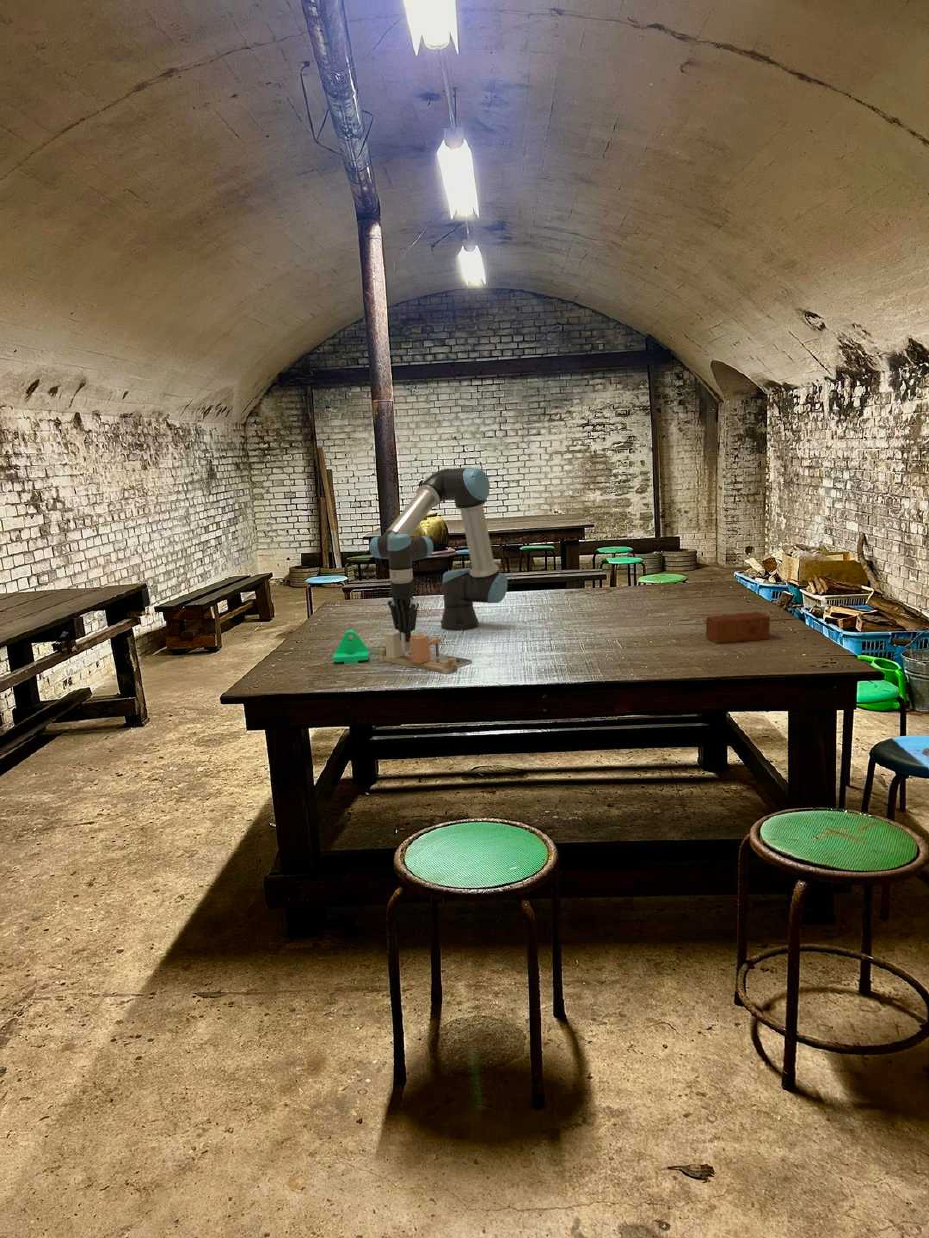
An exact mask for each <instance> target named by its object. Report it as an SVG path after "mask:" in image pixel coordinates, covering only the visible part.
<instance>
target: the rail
mask: <svg viewBox="0 0 929 1238" xmlns="http://www.w3.org/2000/svg"><path fill="white" fill-rule="evenodd" d="M378 653H379V654H378V655H379V661H380V662H387V663H393V664H397V665H402V666H407V667H411V668H417V669H421V670H426V671H431V672H436V673H440V674H441V673H442V674H443V675H449V674H450V673H454V672H456V671H458V668H457V662H456V658H451V659H448V660H445V661H442V664H440V663H435V662H430V661H426V662H423V663H420V664H419V663H414V662H411V658H409V657H404V656H402V657H398V658H395V659H394V658H389V657H387V656H386V647H382V648H379V649H378Z"/></svg>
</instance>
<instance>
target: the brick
mask: <svg viewBox="0 0 929 1238" xmlns="http://www.w3.org/2000/svg"><path fill="white" fill-rule="evenodd" d="M705 623H706V626H705V627H706V628H705V629H706V630H705V634H706V635H705V636H706V640H707V641H709V642H712V643H714V644H716V645H723V644H730V643H743V642H753V641H762V640H764V641H766V640H769V639H770V626H771V625H770V624H771V618H770V616H768V615H766V614H765V613H760V612H757V611H753V612H746V613H741V612H740V613H735V614H733V613H732V614H723V615H715V616H714V615H713V616H708V617H707V616H706V621H705Z"/></svg>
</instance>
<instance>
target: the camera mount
mask: <svg viewBox="0 0 929 1238" xmlns="http://www.w3.org/2000/svg"><path fill="white" fill-rule="evenodd" d="M349 636H352V638H349ZM341 638H342V639H341V640H340V642H339V644H338V646H337V647H336V650H335V651H334V654H333V657H332V658H333V659H332V660H333V662H335V663H342V662H343V663H344V665H349V664H359V661H367V660H369V659H370V649H369V648H368V647H367V645H366V644H365V643H364V641H363V640H362V639H361V637H360V636H359V635H358V633H357V632H356V631H355V630H353V629H348V630H346V631H345V632H344V635H343V636H342V637H341Z"/></svg>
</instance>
